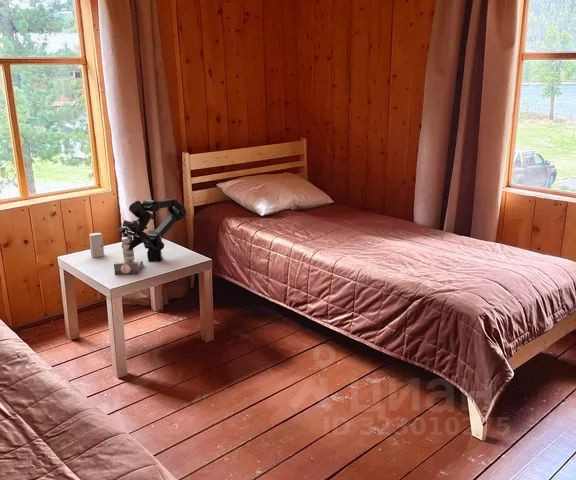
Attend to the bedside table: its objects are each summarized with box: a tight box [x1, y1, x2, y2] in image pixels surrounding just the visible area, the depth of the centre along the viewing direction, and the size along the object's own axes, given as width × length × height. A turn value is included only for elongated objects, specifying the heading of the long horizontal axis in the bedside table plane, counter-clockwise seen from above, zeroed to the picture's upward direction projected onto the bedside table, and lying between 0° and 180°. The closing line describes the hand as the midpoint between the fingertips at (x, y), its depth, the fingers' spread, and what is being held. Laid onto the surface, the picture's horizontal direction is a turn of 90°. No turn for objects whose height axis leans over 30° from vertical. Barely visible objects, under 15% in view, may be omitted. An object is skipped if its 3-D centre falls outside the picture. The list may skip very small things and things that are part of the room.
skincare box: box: [88, 232, 105, 258], centre depth 295 cm, size 6×4×12 cm
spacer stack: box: [121, 236, 135, 262], centre depth 273 cm, size 5×5×12 cm
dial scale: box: [113, 259, 144, 276], centre depth 274 cm, size 11×14×6 cm
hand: (125, 248), depth 272 cm, fingers closed on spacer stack, 5 cm apart
